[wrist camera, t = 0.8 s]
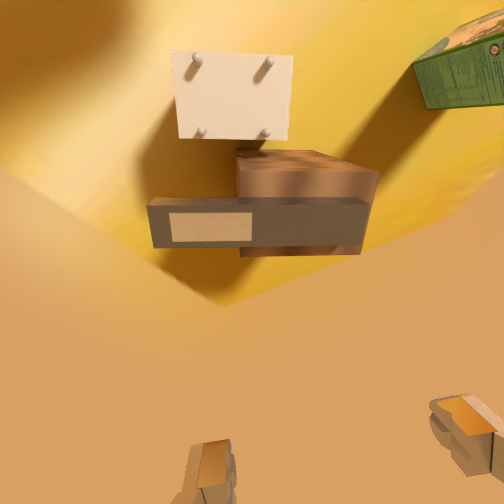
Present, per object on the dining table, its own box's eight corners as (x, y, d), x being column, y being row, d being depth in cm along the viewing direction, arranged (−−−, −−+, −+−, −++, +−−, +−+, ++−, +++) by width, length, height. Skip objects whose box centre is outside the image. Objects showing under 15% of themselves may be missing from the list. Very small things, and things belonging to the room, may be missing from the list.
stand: (235, 200, 53) (240, 256, 31) (235, 149, 49) (240, 170, 26) (306, 200, 54) (360, 254, 32) (312, 150, 50) (379, 172, 27)
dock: (194, 133, 47) (176, 139, 31) (189, 74, 43) (167, 45, 27) (270, 135, 48) (290, 141, 32) (272, 77, 44) (297, 51, 28)
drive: (160, 236, 29) (153, 248, 26) (154, 197, 27) (146, 205, 24) (349, 234, 31) (361, 245, 28) (357, 197, 29) (370, 205, 26)
